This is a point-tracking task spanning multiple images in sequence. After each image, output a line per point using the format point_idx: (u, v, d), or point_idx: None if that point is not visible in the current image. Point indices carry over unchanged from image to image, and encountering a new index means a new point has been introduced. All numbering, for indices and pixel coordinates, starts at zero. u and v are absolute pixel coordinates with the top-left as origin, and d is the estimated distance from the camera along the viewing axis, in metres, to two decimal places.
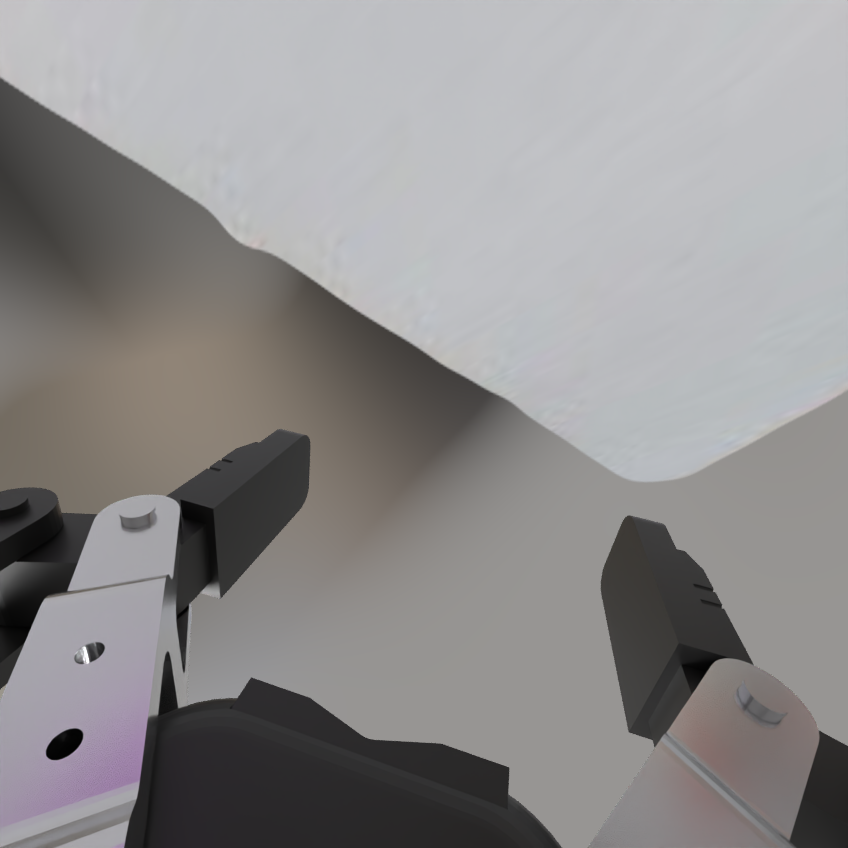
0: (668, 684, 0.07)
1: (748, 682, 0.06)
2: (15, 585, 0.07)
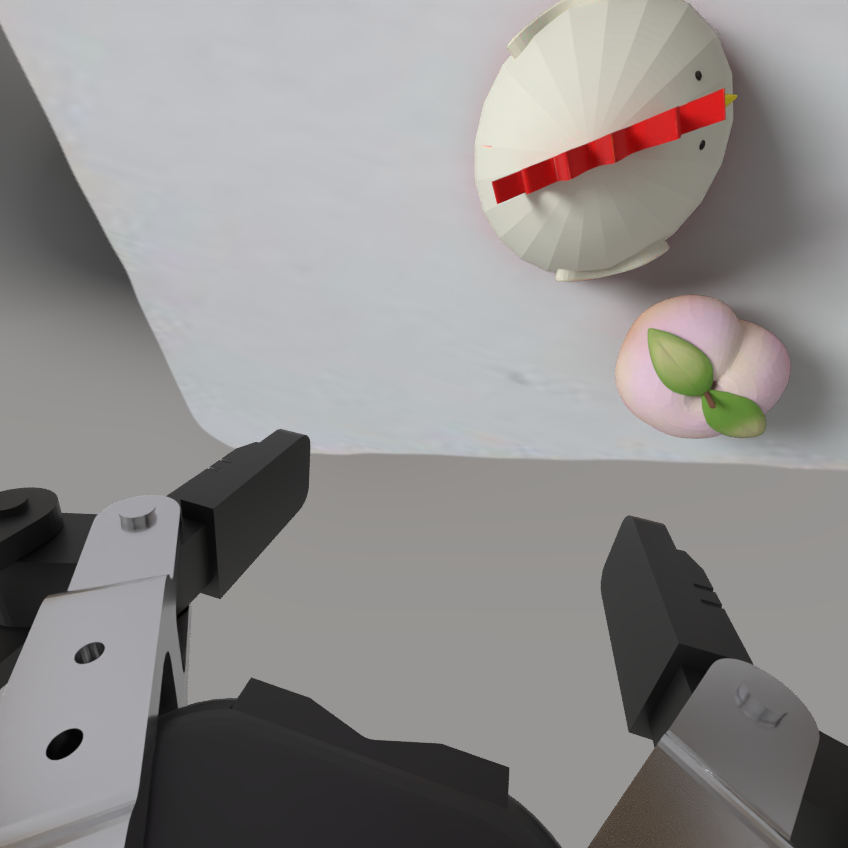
0: (668, 684, 0.07)
1: (748, 682, 0.06)
2: (15, 585, 0.07)
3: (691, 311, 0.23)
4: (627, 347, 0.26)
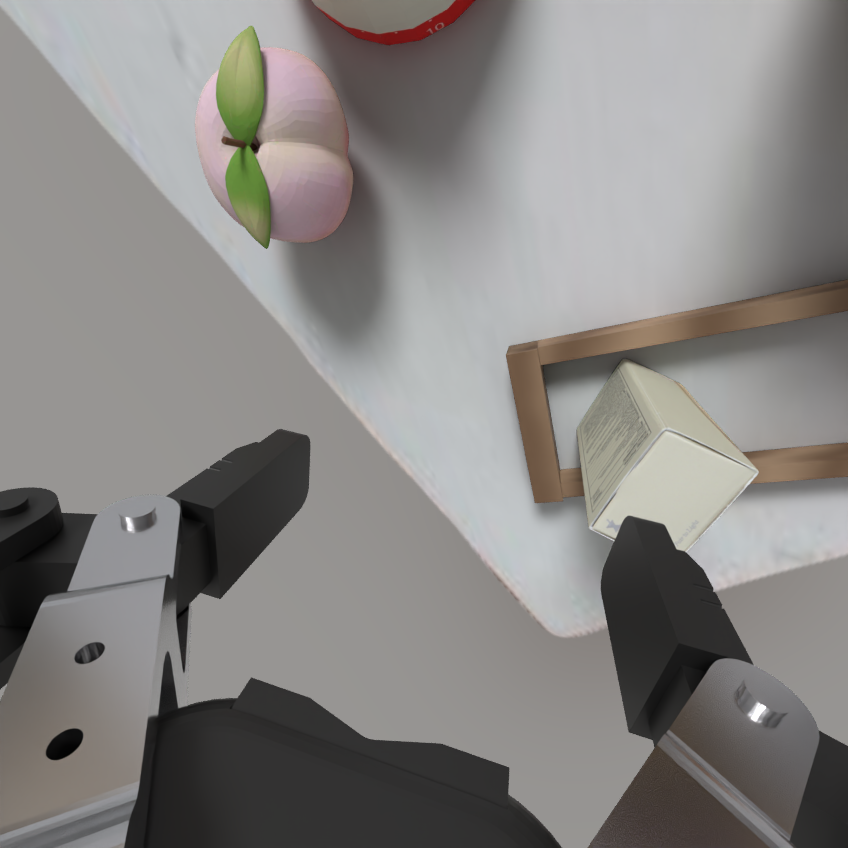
0: (668, 684, 0.07)
1: (748, 682, 0.06)
2: (15, 585, 0.07)
3: (300, 65, 0.20)
4: None
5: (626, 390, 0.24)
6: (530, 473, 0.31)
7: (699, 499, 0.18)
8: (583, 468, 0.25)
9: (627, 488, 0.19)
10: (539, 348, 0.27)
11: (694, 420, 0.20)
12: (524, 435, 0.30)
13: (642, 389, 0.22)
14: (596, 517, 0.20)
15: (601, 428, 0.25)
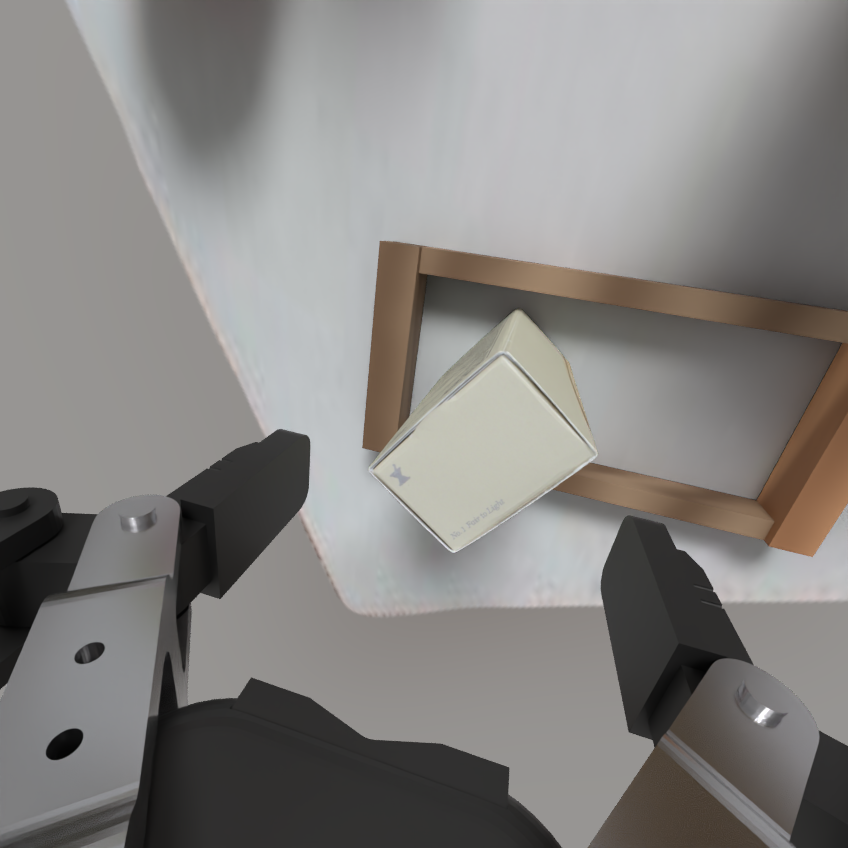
0: (668, 684, 0.07)
1: (748, 682, 0.06)
2: (15, 585, 0.07)
3: None
4: None
5: (499, 330, 0.18)
6: (367, 409, 0.24)
7: (514, 472, 0.13)
8: (415, 410, 0.19)
9: (430, 426, 0.13)
10: (423, 249, 0.21)
11: (554, 378, 0.15)
12: (373, 358, 0.23)
13: (512, 325, 0.16)
14: (381, 458, 0.14)
15: (455, 370, 0.19)
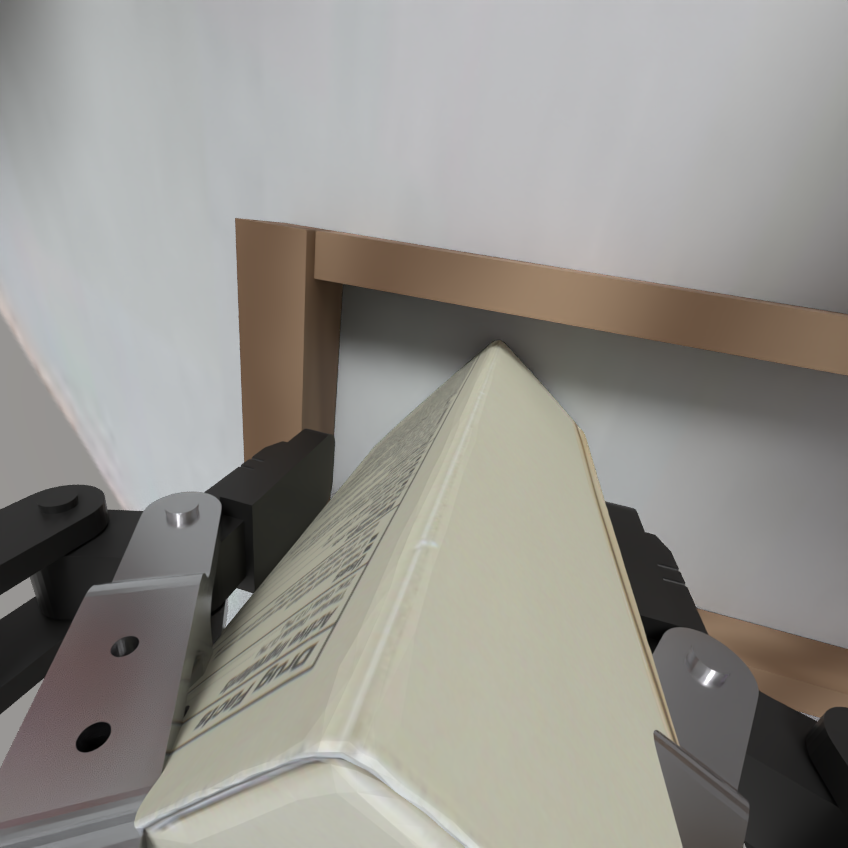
0: None
1: (696, 648, 0.06)
2: (60, 580, 0.07)
3: None
4: None
5: (450, 401, 0.09)
6: None
7: None
8: (283, 558, 0.09)
9: None
10: (319, 234, 0.11)
11: (575, 583, 0.05)
12: (248, 423, 0.13)
13: (469, 411, 0.07)
14: None
15: (368, 473, 0.10)
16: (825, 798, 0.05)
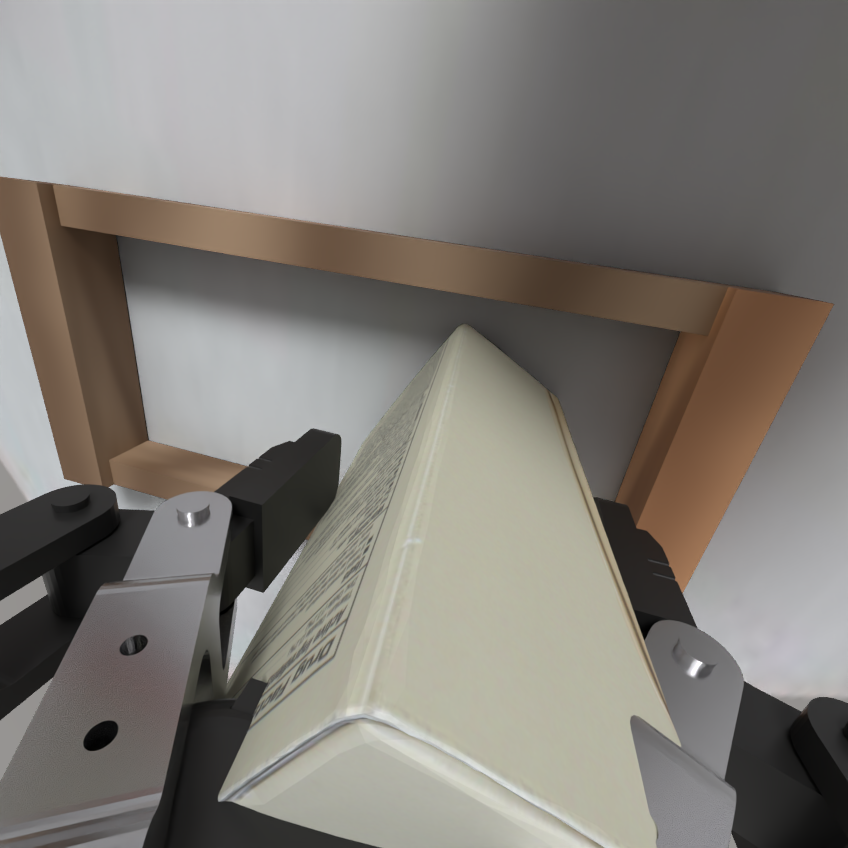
0: None
1: (683, 640, 0.06)
2: (71, 579, 0.07)
3: None
4: None
5: (424, 395, 0.10)
6: (52, 426, 0.17)
7: None
8: (296, 562, 0.10)
9: None
10: (56, 188, 0.14)
11: (551, 546, 0.06)
12: (35, 353, 0.16)
13: (440, 408, 0.08)
14: None
15: (360, 472, 0.11)
16: (809, 788, 0.05)
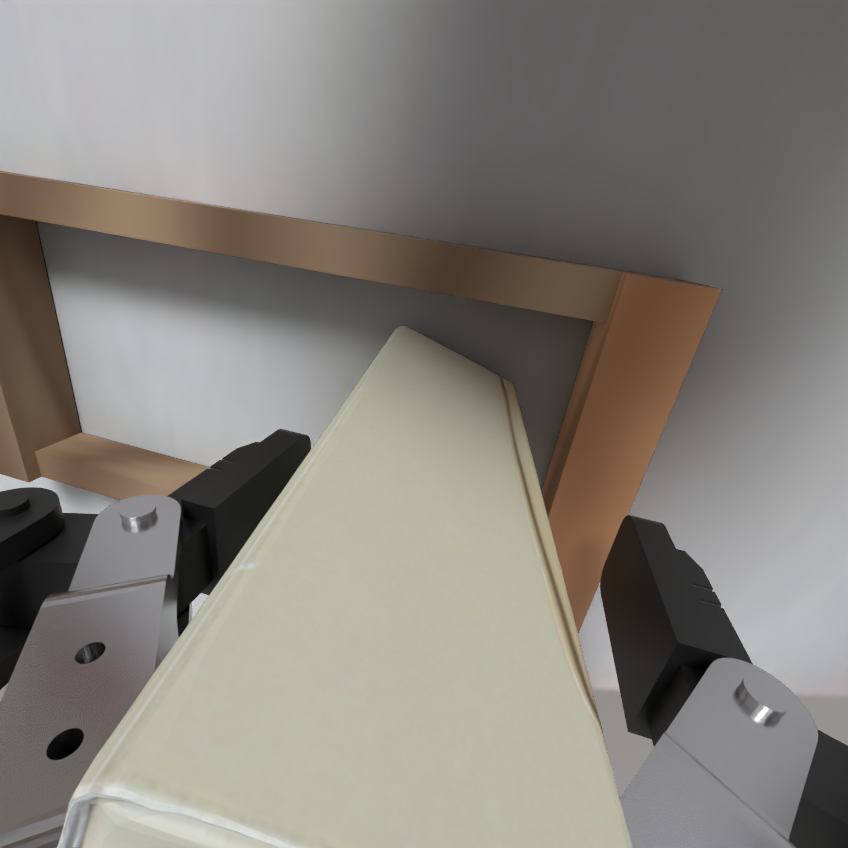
0: (667, 683, 0.07)
1: (747, 681, 0.06)
2: (16, 585, 0.07)
3: None
4: None
5: None
6: None
7: None
8: None
9: None
10: None
11: (458, 542, 0.06)
12: None
13: (338, 415, 0.07)
14: None
15: None
16: None
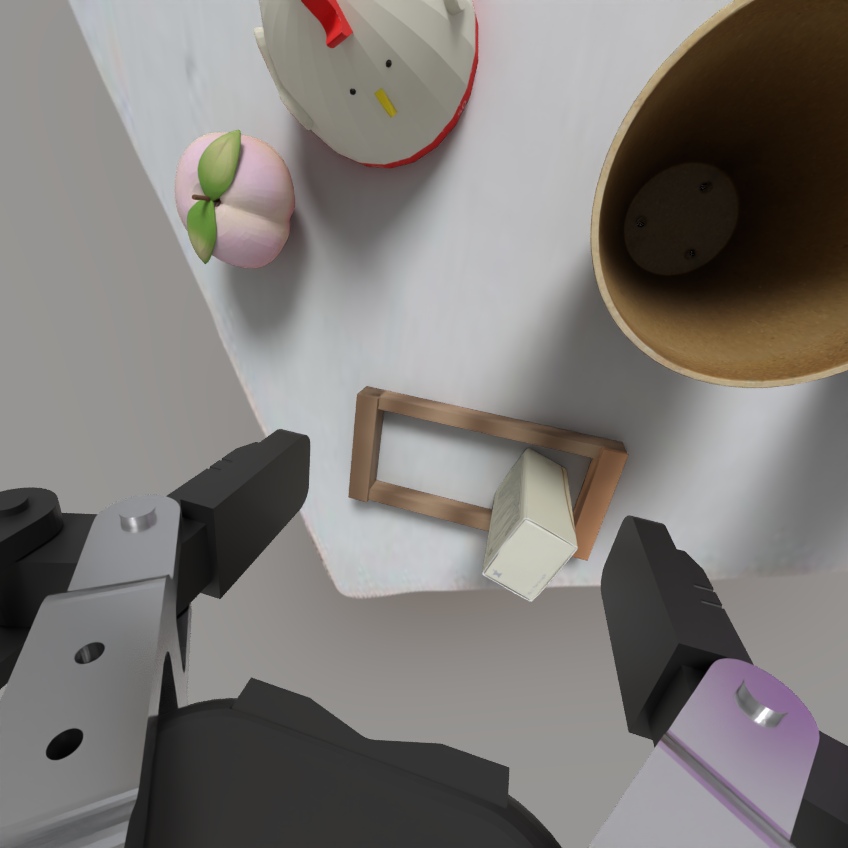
0: (668, 684, 0.07)
1: (748, 682, 0.06)
2: (15, 585, 0.07)
3: (267, 165, 0.29)
4: None
5: (520, 477, 0.36)
6: (351, 476, 0.43)
7: (546, 561, 0.30)
8: (490, 528, 0.36)
9: (504, 551, 0.30)
10: (380, 398, 0.39)
11: (553, 507, 0.32)
12: (354, 450, 0.41)
13: (526, 481, 0.34)
14: (486, 567, 0.31)
15: (504, 500, 0.37)
16: None
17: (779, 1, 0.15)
